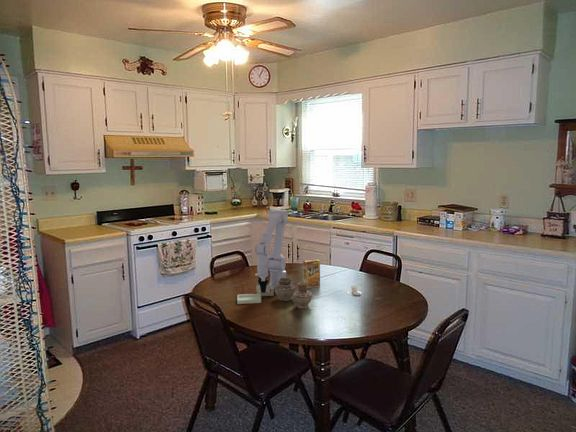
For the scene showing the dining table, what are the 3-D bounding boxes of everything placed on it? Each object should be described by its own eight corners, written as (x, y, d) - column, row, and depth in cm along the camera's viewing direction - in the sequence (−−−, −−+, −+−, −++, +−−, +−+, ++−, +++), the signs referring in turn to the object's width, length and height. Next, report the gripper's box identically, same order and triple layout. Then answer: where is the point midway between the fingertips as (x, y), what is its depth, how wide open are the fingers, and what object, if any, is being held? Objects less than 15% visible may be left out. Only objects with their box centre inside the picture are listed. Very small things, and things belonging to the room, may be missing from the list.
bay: (273, 291, 235) (272, 284, 235) (273, 295, 229) (273, 288, 228) (256, 292, 234) (256, 285, 234) (256, 296, 228) (256, 289, 227)
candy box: (306, 288, 240) (306, 262, 238) (303, 286, 244) (303, 260, 242) (320, 286, 243) (320, 260, 241) (317, 284, 247) (316, 258, 245)
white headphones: (361, 297, 226) (361, 289, 225) (346, 296, 228) (346, 288, 227) (362, 291, 234) (362, 284, 234) (347, 291, 236) (347, 283, 236)
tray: (260, 296, 227) (260, 293, 227) (261, 302, 218) (261, 299, 218) (237, 297, 226) (237, 294, 226) (237, 303, 217) (237, 300, 217)
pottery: (300, 312, 205) (300, 288, 203) (270, 298, 224) (269, 276, 222) (318, 306, 212) (318, 283, 210) (286, 294, 231) (286, 272, 229)
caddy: (269, 292, 234) (269, 281, 233) (269, 295, 230) (269, 283, 229) (255, 293, 233) (255, 281, 232) (255, 295, 229) (255, 283, 228)
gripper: (255, 262, 236) (255, 286, 238) (255, 269, 222) (255, 294, 224) (267, 262, 237) (268, 285, 238) (268, 269, 222) (269, 294, 224)
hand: (263, 290), depth 231 cm, fingers open, 7 cm apart
